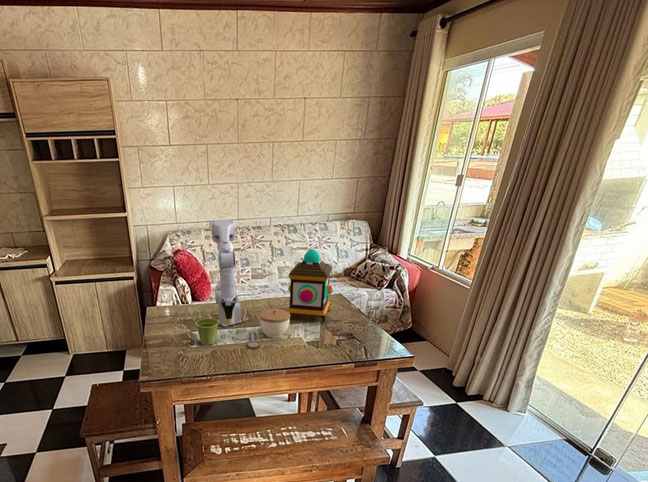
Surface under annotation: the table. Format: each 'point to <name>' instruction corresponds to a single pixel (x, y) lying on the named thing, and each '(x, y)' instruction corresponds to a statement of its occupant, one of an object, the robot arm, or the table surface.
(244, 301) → the table surface
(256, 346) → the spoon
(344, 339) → the table surface
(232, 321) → the shaker
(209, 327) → the plant pot
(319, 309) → the decorative lantern
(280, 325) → the lidded bowl
